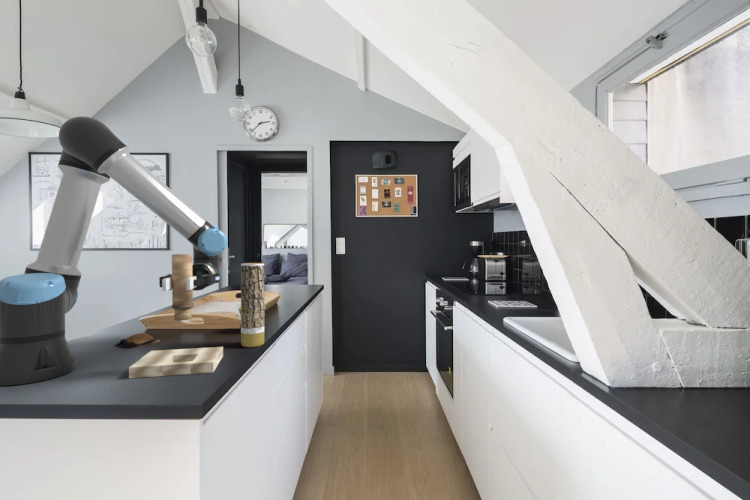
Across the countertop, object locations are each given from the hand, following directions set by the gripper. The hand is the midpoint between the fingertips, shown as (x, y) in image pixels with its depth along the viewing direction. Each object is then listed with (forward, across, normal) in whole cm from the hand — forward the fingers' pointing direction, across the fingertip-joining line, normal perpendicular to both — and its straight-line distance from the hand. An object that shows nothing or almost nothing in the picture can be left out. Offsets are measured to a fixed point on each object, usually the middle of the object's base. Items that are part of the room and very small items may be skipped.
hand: (176, 284), depth 87 cm
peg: (-5, 0, -9) cm, 11 cm away
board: (-7, +1, -21) cm, 23 cm away
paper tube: (-24, -15, -22) cm, 36 cm away
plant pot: (-43, -13, -22) cm, 50 cm away
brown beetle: (-34, +20, -22) cm, 45 cm away
